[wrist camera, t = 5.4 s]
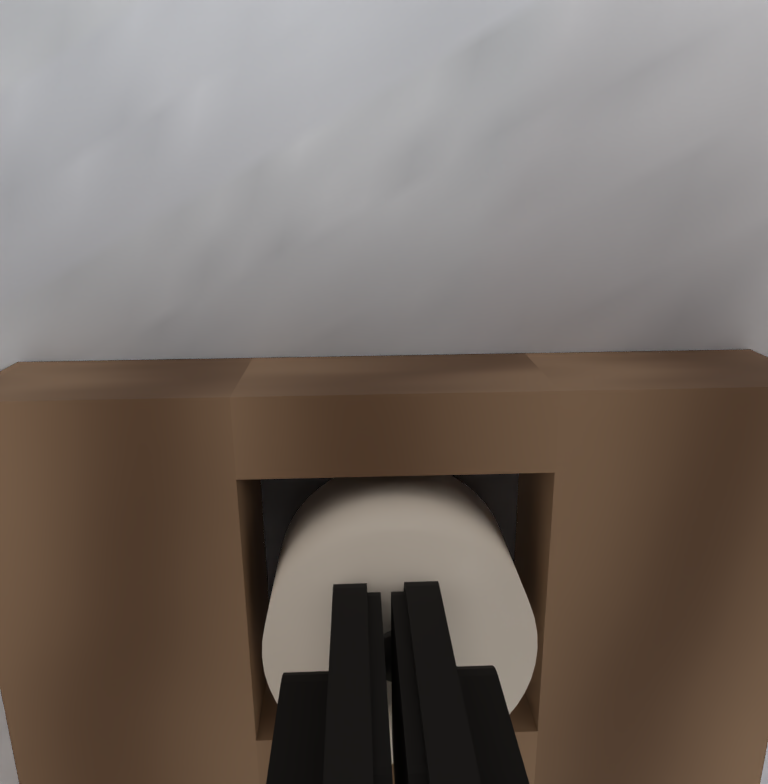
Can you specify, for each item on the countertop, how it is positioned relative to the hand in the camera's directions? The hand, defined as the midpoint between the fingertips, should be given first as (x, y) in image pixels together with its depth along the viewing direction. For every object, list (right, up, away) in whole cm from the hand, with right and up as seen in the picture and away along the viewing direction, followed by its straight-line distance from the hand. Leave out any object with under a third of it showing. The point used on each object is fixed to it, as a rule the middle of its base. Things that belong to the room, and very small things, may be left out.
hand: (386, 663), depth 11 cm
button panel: (0, -6, +6) cm, 8 cm away
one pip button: (0, +1, +3) cm, 3 cm away
